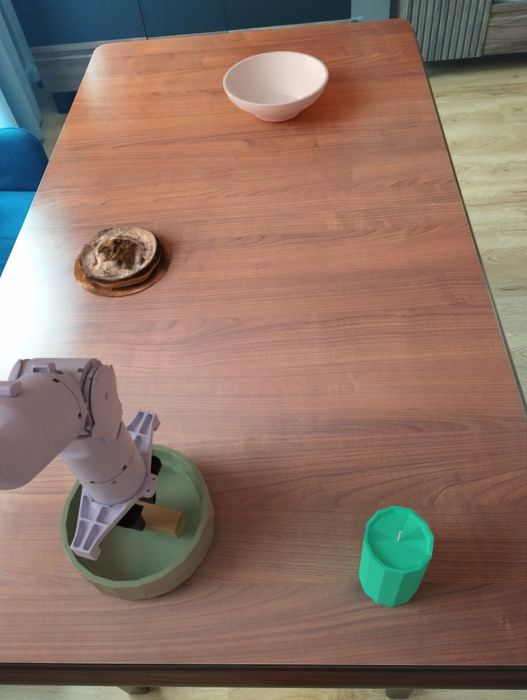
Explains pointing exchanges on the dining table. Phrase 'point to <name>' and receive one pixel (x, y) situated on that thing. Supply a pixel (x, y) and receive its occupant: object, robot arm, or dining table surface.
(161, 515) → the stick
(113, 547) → the mixing bowl
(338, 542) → the dining table surface
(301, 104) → the bowl
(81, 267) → the brown mottled round dish
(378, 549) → the candle
